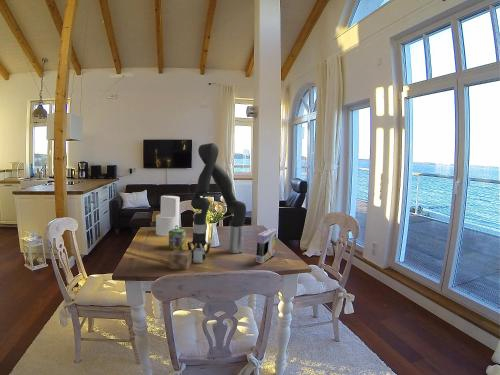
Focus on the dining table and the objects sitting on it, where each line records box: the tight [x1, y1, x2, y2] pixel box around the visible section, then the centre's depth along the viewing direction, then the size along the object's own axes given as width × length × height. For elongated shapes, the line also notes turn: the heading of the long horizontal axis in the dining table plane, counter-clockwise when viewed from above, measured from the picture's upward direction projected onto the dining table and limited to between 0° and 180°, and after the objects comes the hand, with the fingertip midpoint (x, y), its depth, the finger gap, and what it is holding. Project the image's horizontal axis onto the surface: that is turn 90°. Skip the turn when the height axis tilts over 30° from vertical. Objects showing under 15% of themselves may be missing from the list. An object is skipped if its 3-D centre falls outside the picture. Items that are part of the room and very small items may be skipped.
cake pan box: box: [255, 228, 278, 263], centre depth 197 cm, size 19×5×18 cm, turn 151°
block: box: [192, 248, 204, 264], centre depth 189 cm, size 5×5×7 cm
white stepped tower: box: [155, 195, 180, 237], centre depth 248 cm, size 17×17×28 cm
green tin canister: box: [168, 225, 187, 250], centre depth 214 cm, size 9×9×15 cm
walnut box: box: [168, 249, 193, 271], centre depth 180 cm, size 10×10×8 cm
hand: (198, 259), depth 190 cm, fingers closed on block, 5 cm apart
